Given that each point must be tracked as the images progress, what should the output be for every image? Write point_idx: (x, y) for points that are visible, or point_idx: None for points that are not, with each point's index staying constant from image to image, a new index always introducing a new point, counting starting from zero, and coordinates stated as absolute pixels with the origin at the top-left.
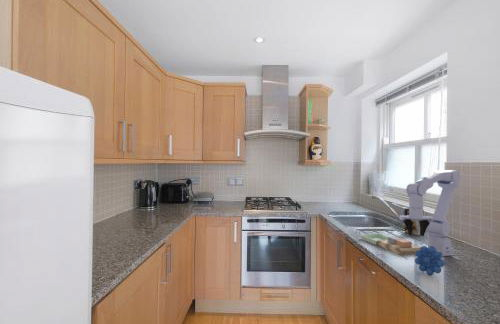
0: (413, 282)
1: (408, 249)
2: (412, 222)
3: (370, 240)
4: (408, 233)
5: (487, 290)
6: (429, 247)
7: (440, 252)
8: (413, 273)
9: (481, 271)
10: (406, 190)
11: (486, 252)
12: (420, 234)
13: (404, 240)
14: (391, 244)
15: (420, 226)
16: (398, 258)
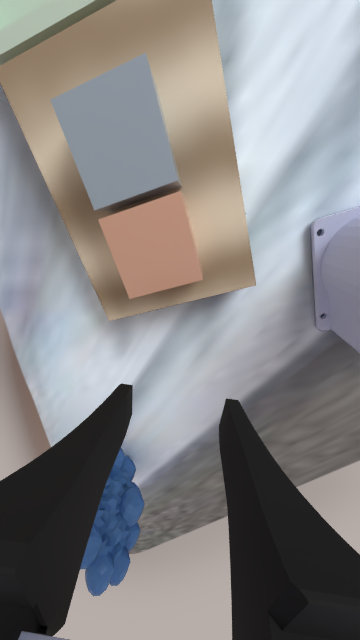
0: None
1: (157, 307)
2: (51, 627)
3: None
4: (115, 391)
5: (208, 514)
6: (86, 583)
7: (116, 584)
8: None
9: (318, 452)
10: None
11: None
12: (226, 401)
13: (163, 241)
14: (80, 221)
15: (247, 483)
16: (89, 345)
